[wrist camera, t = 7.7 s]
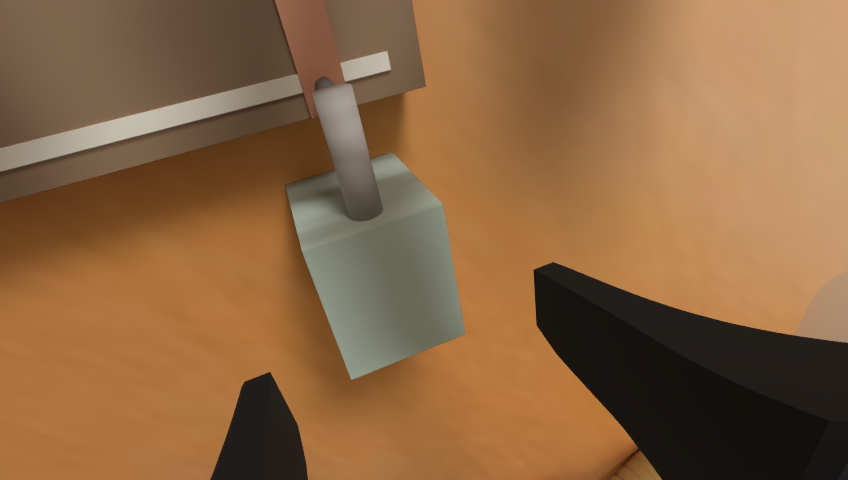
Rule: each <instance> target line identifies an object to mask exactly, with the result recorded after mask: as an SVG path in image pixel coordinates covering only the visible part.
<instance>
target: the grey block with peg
mask: <svg viewBox="0 0 848 480" xmlns="http://www.w3.org/2000/svg"><path fill="white" fill-rule="evenodd" d="M315 90H316V91H315V92H313V93H312V96H313V99H314V103H315V106H316V109H317V112H318V116H319V119H320V122H321V126H322V129H323V132H324V136H325V139H326V142H327V146H328V149H329V152H330V155H331V159H332V162H333V165H334V169H335V170H332V171H328V172H325V173H322V174H319V175H315V176H312V177H309V178H305V179H302V180H299V181H295V182H292V183H289V184H285V187H286V191H287V195H288V199H289V202H290V206H291V210H292V214H293V218H294V222H295V226H296V230H297V234H298V238H299V242H300V246H301V250H302V253H303V256H304V258H305V261H306V263H307V266H308V269H309V271H310V274H311V276H312V279H313V282H314V284H315V287H316V289H317V292H318V295H319V297H320V300H321V302H322V305H323V308H324V310H325V313H326V315H327V318H328V321H329V323H330V326H331V328H332V331H333V334H334V336H335V339H336V341H337V344H338V347H339V349H340V352H341V354H342V357H343V360H344V362H345V365H346V367H347V370H348V373H349V375H350V378H351V380H353V379H356V378H358V377H361V376H363V375H366V374H368V373H370V372H373V371H375V370H378V369H380V368H383V367H385V366H388V365H390V364H393V363H395V362H398V361H400V360H403V359H405V358H408V357H410V356H413V355H415V354H418V353H420V352H422V351H425V350H427V349H430V348H432V347H435V346H437V345H440V344H442V343H445V342H447V341H450V340H452V339H455V338H457V337H460V336H462V335H465V330H464V324H463V319H462V313H461V307H460V301H459V295H458V289H457V284H456V278H455V272H454V266H453V260H452V254H451V249H450V243H449V237H448V231H447V225H446V219H445V214H444V208H443V204H442V203H441V202H440V201H439V200H438V199H437V198H436V197H435V196H434V195H433V194H432V193H431V192H430V191H429V190H428V189H427V188H426V187H425V186H424V185H423V183H422V182H421V181H420V180H419V179H418V178H417V177H416V176H415V175H414V174H413V173H412V172H411V171H410V170H409V169H408V168H407V167H406V166H405V165H404V164H403V163H402V162H401V161H400V160H399V159H398V158H397V157H396V156H395V154H394V153H393V152H391V153H388V154H385V155H382V156H378V157H375V158H372V159H370V155H369V151H368V147H367V143H366V139H365V135H364V131H363V127H362V123H361V119H360V115H359V111H358V107H357V103H356V99H355V96H354V92H353V88H352V85H351V84H336V85H335V84H334V83H333V82H332V81H331V80H330V79H328V78H326V77H321V78H319V79H317V81H316V82H315Z"/></svg>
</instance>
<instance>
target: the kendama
mask: <svg viewBox="0 0 848 480" xmlns="http://www.w3.org/2000/svg"><path fill="white" fill-rule="evenodd" d="M608 480H662V479H661V478H660V476H659V475H658V473H657V472H656V471H655V469H654V468H653V466H652V465H651V464H650V462H649V461H648V460H647V458H646V457H645V456H644V454H643V453H642V452H641V450H639V451H638V452H637V453H636V454H635V455H633V456H632V458H631V459H630V460H628V461H627V462H626V463H625V464H624V465H623V467H621V468H620V469H619V470H618V471H616V472H615V474H614V475H612V476H611V477H610V478H609V479H608Z"/></svg>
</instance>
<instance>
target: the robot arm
mask: <svg viewBox="0 0 848 480" xmlns="http://www.w3.org/2000/svg"><path fill="white" fill-rule="evenodd" d="M534 285H535V303H536V321H537V326H538V328H539V329H540V331H541V332H542V334H543V335H544V337H545V338H546V340H547V341H548V343H549V344H550V345H551V347H552V348H553V349H554V351H555V352H556V354H557V355H558V356H559V357H560V358H561V359H562V361H563V362H564V363H565V364H566V365H567V366H568V367H569V368H570V370H571V371H572V372H573V373H574V374H575V375H576V376H577V377H578V378H579V379H580V381H581V382H582V383H583V384H584V385H585V386H586V387H587V388H588V389H589V390H590V391H591V393H592V394H593V395H594V396H595V397H596V398H597V399H598V400H599V401H600V402H601V403H602V405H603V406H604V407H605V408H606V409H607V410H608V411H609V412H610V413H611V414H612V415H613V416H614V418H615V419H616V420H617V421H618V422H619V424H620V425H621V426H622V427H623V428H624V429H625V431H626V432H627V433H628V434H629V436H630V437H631V438H632V440H633V441H634V442H635V444H636V445H637V446H638V448H639V449H640V450H641V452H642V453H643V454H644V456H645V457H646V458H647V460H648V461H649V462H650V464H651V465H652V466H653V468H654V469H655V471H656V472H657V473H658V475H659V476H660V478H661V479H662V480H848V343H843V342H836V341H827V340H820V339H813V338H807V337H800V336H793V335H788V334H782V333H776V332H770V331H765V330H760V329H755V328H751V327H746V326H741V325H736V324H732V323H727V322H723V321H719V320H715V319H712V318H708V317H704V316H700V315H697V314H693V313H689V312H686V311H683V310H679V309H676V308H673V307H670V306H667V305H664V304H661V303H658V302H655V301H652V300H649V299H646V298H643V297H640V296H638V295H635V294H632V293H630V292H627V291H624V290H622V289H619V288H617V287H614V286H611V285H609V284H606V283H604V282H601V281H599V280H597V279H594V278H592V277H589V276H587V275H584V274H582V273H579V272H577V271H575V270H572V269H570V268H567V267H565V266H562V265H559V264H557V263H554V262H552V263H550V264H547V265H545V266H542V267H540V268H537V269H534ZM210 480H308V477H307V467H306V461H305V456H304V452H303V447H302V442H301V438H300V433H299V429H298V425H297V423H296V421H295V419H294V417H293V415H292V413H291V411H290V409H289V407H288V405H287V403H286V402H285V400H284V398H283V396H282V394H281V392H280V390H279V388H278V386H277V384H276V382H275V380H274V378H273V377H272V375H271V373H270V372H269V373H266V374H264V375H261V376H259V377H256V378H254V379H251V380H248V381H246V382H244V384H243V386H242V388H241V391H240V395H239V398H238V401H237V405H236V408H235V411H234V415H233V418H232V421H231V424H230V427H229V430H228V433H227V436H226V439H225V442H224V445H223V447H222V450H221V453H220V456H219V458H218V461H217V464H216V467H215V469H214V472H213V474H212V477H211V479H210Z"/></svg>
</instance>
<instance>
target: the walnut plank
mask: <svg viewBox="0 0 848 480" xmlns="http://www.w3.org/2000/svg"><path fill="white" fill-rule="evenodd" d="M321 77H326V78H328V79H330V80H331V81H332V82H333V83H334V84H335V85H336V84H351V85H352V88H353V92H354V96H355V99H356V103H357V105H360V104H364V103H367V102H371V101H375V100H378V99H382V98H386V97H389V96H393V95H397V94H400V93H404V92H407V91H411V90H415V89H418V88H422V87H426V84H425V78H424V72H423V66H422V60H421V54H420V48H419V42H418V36H417V30H416V24H415V18H414V12H413V6H412V0H0V203H2V202H6V201H9V200H13V199H17V198H20V197H24V196H28V195H31V194H35V193H39V192H42V191H46V190H50V189H53V188H57V187H61V186H64V185H68V184H71V183H75V182H79V181H82V180H86V179H90V178H93V177H97V176H101V175H104V174H108V173H112V172H115V171H119V170H123V169H126V168H130V167H134V166H137V165H141V164H145V163H148V162H152V161H155V160H159V159H163V158H166V157H170V156H174V155H177V154H181V153H185V152H188V151H192V150H196V149H199V148H203V147H207V146H210V145H214V144H218V143H221V142H225V141H229V140H232V139H236V138H239V137H243V136H247V135H250V134H254V133H258V132H261V131H265V130H269V129H272V128H276V127H280V126H283V125H287V124H291V123H294V122H298V121H302V120H305V119H309V118H312V119H314V118H317V117H319V116H318V112H317V109H316V106H315V103H314V99H313V96H312V93H313V92H315V91H316V90H315V82H316V81H317V79H319V78H321Z"/></svg>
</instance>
